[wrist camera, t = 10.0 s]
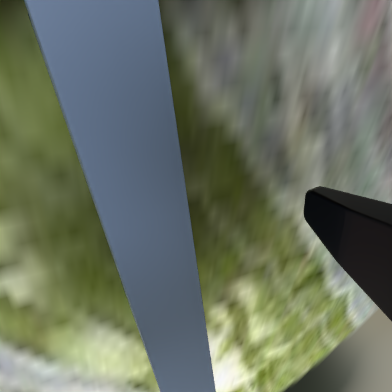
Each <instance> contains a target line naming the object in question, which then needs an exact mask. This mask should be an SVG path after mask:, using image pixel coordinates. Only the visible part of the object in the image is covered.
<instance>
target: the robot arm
mask: <svg viewBox="0 0 392 392" xmlns="http://www.w3.org/2000/svg"><path fill="white" fill-rule="evenodd" d="M304 217H305V220H306V221H307V223H308V224H309V225H310V227H311V228H312V229H313V231H314V232H315V233H316V235H317V236H318V237H319V239H320V240H321V241H322V243H323V244H324V245H325V247H326V248H327V249H328V251H329V252H330V253H331V255H332V256H333V257H334V259H335V260H336V261H337V262H338V263H339V264H340V266H341V267H342V268H343V269H344V270H345V271H346V272H347V273H348V274H349V275H350V277H351V278H352V279H353V280H354V281H355V282H356V283H357V284H358V285H359V286H360V287H361V289H362V290H363V291H364V292H365V293H366V294H367V295H368V296H369V297H370V298H371V299H372V300H373V302H374V303H375V304H376V305H377V306H378V307H379V308H380V309H381V310H382V311H383V312H384V313H385V314H386V316H387V317H388V318H389V319H390V320H391V321H392V204H390V203H386V202H382V201H378V200H374V199H370V198H366V197H362V196H358V195H354V194H350V193H346V192H342V191H338V190H334V189H330V188H326V187H321V186H319V187H316V188H313V189H311V190H308V191H307V193H306V195H305V205H304Z"/></svg>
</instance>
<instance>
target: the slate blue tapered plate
mask: <svg viewBox="0 0 392 392" xmlns="http://www.w3.org/2000/svg"><path fill="white" fill-rule="evenodd" d="M24 2H25V5H26V8H27V11H28V15H29V18H30V21H31V24H32V27H33V30H34V32H35V35H36V38H37V41H38V44H39V47H40V50H41V53H42V55H43V58H44V61H45V64H46V67H47V70H48V73H49V75H50V78H51V81H52V84H53V87H54V90H55V93H56V96H57V98H58V101H59V104H60V107H61V110H62V113H63V116H64V118H65V121H66V124H67V127H68V130H69V133H70V136H71V139H72V141H73V144H74V147H75V150H76V153H77V156H78V159H79V161H80V164H81V167H82V170H83V173H84V176H85V179H86V182H87V184H88V187H89V190H90V193H91V196H92V199H93V202H94V205H95V207H96V210H97V213H98V216H99V219H100V222H101V225H102V227H103V230H104V233H105V236H106V239H107V242H108V245H109V248H110V250H111V253H112V256H113V259H114V262H115V265H116V268H117V270H118V273H119V276H120V279H121V282H122V285H123V288H124V291H125V293H126V296H127V299H128V302H129V305H130V308H131V310H132V313H133V316H134V319H135V322H136V324H137V327H138V330H139V333H140V336H141V338H142V341H143V344H144V347H145V350H146V352H147V355H148V358H149V361H150V364H151V366H152V369H153V372H154V375H155V378H156V380H157V383H158V386H159V389H160V392H216V391H215V384H214V377H213V370H212V364H211V357H210V350H209V343H208V336H207V329H206V323H205V316H204V309H203V302H202V295H201V289H200V282H199V275H198V268H197V261H196V255H195V248H194V241H193V234H192V227H191V221H190V214H189V207H188V200H187V193H186V186H185V180H184V173H183V166H182V159H181V152H180V146H179V139H178V132H177V125H176V118H175V112H174V105H173V98H172V91H171V84H170V77H169V71H168V64H167V57H166V50H165V43H164V37H163V30H162V23H161V16H160V9H159V3H158V0H24Z"/></svg>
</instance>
